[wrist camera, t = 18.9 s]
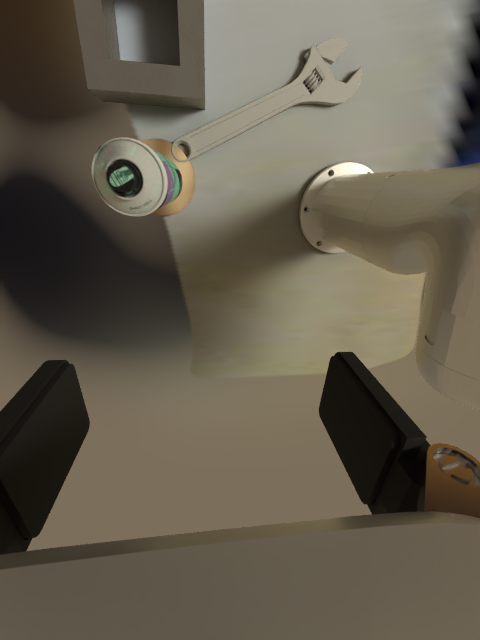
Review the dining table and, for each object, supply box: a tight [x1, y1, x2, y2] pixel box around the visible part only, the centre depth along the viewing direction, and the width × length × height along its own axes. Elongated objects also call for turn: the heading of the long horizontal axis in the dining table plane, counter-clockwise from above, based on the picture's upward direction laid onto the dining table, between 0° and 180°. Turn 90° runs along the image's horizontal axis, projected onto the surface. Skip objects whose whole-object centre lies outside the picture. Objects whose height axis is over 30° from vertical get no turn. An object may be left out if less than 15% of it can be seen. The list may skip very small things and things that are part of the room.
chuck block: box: [73, 0, 205, 110], centre depth 28 cm, size 12×12×5 cm
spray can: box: [91, 138, 183, 217], centre depth 27 cm, size 6×6×20 cm
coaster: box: [142, 139, 195, 215], centre depth 36 cm, size 9×9×1 cm
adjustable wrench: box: [172, 38, 363, 162], centre depth 34 cm, size 25×6×2 cm, turn 109°
